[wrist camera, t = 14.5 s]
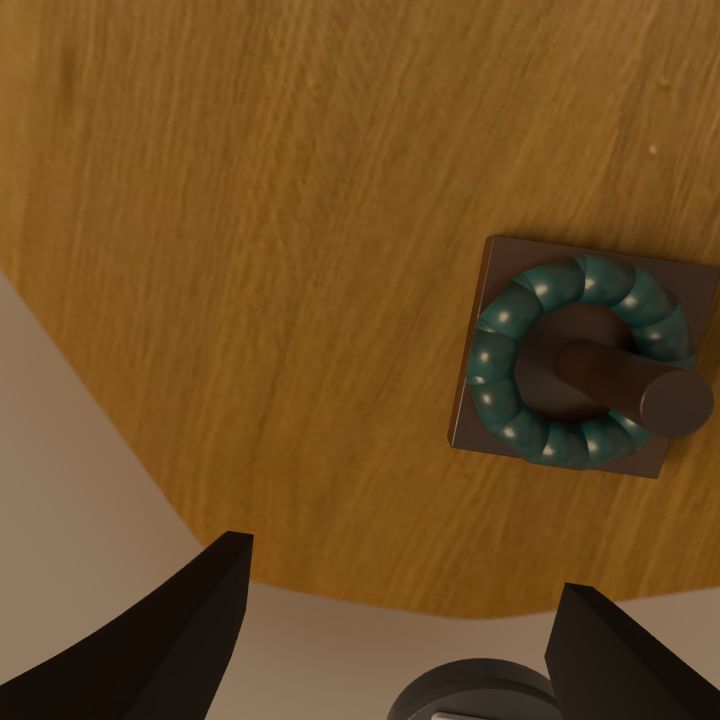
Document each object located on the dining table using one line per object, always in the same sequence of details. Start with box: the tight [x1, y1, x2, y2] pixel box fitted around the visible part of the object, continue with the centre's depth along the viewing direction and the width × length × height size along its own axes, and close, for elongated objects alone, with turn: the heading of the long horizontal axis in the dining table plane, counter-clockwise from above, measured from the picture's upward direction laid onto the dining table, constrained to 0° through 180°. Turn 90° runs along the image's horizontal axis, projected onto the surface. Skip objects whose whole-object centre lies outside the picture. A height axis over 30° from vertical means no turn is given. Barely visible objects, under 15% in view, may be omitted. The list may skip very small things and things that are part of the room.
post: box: [447, 235, 720, 479], centre depth 16 cm, size 9×9×7 cm
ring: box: [465, 253, 696, 471], centre depth 17 cm, size 8×8×2 cm
